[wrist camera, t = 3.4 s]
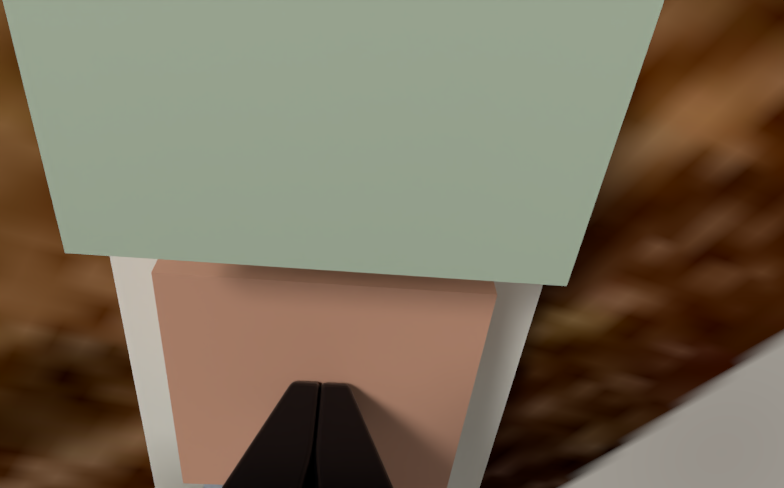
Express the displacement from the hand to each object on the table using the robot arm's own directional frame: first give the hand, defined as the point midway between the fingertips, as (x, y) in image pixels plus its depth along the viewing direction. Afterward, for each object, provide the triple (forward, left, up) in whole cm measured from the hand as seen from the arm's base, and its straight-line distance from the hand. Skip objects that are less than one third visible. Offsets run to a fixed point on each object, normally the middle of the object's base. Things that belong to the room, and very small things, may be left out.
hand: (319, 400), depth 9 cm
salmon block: (0, 0, -5) cm, 5 cm away
